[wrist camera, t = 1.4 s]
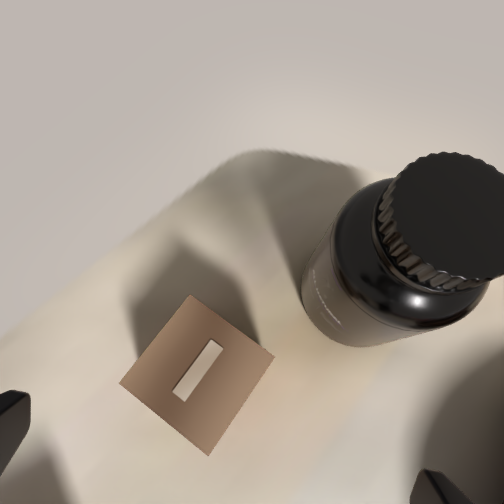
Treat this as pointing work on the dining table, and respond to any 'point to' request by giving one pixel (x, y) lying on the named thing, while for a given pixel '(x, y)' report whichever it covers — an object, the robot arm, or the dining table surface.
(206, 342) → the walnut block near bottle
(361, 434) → the dining table surface
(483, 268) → the supplement bottle
